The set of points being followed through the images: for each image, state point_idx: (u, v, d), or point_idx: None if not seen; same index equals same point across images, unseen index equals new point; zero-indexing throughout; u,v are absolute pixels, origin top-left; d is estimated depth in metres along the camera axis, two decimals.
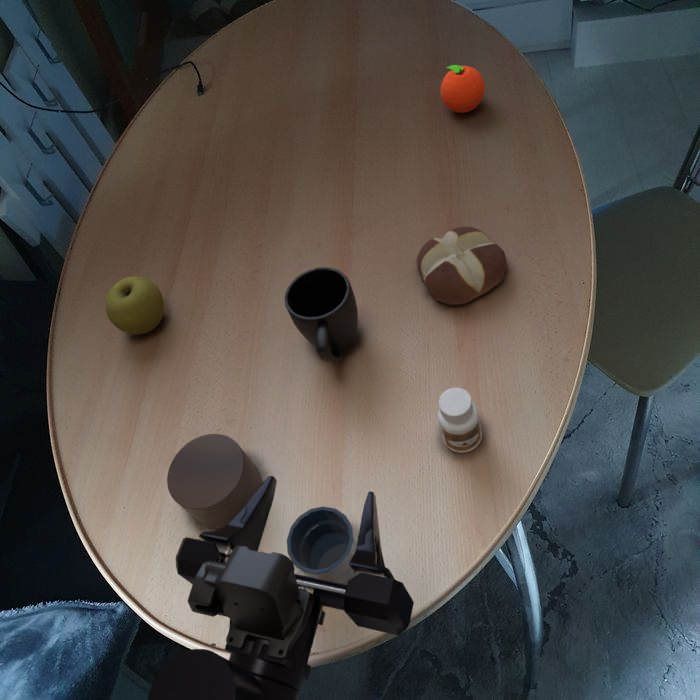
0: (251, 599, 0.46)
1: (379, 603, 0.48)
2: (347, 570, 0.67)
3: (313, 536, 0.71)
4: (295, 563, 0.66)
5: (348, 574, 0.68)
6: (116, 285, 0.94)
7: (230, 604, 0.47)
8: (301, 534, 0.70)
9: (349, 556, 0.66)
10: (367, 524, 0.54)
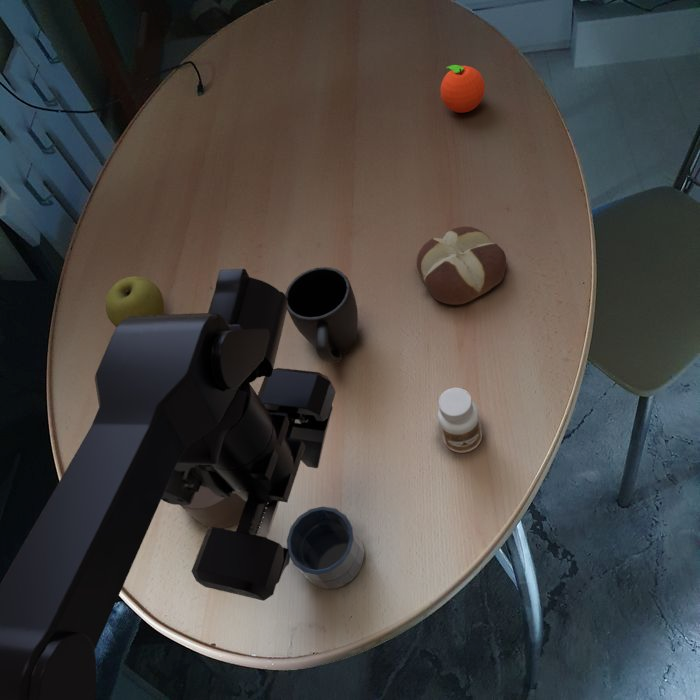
0: None
1: (263, 380, 0.59)
2: (347, 570, 0.67)
3: (313, 536, 0.71)
4: (295, 563, 0.66)
5: (348, 574, 0.68)
6: (116, 285, 0.94)
7: None
8: (301, 534, 0.70)
9: (349, 556, 0.66)
10: None
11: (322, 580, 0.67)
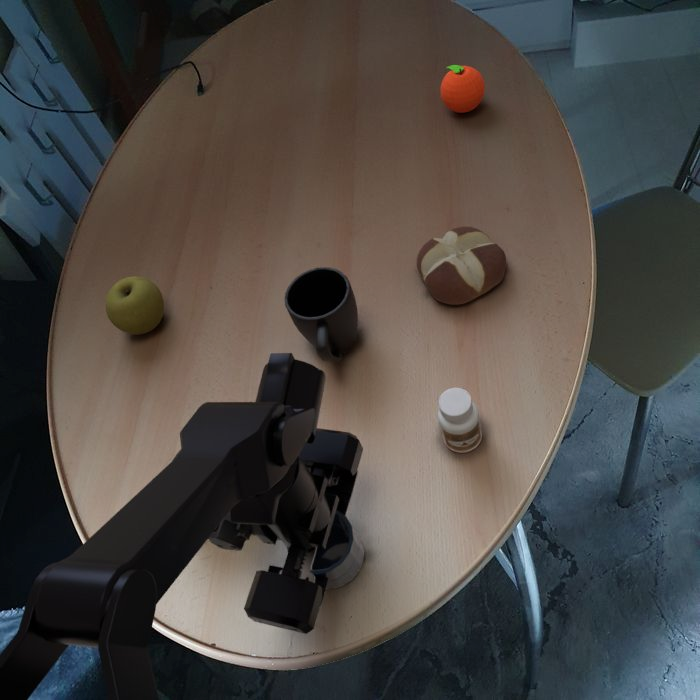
0: None
1: None
2: (347, 570, 0.67)
3: None
4: None
5: (348, 574, 0.68)
6: (116, 285, 0.94)
7: (230, 512, 0.62)
8: None
9: (349, 556, 0.66)
10: None
11: None
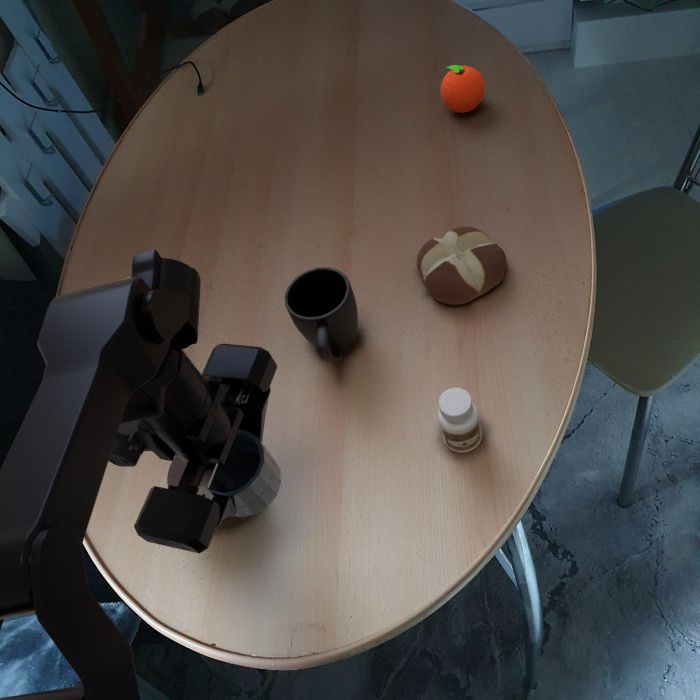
0: None
1: None
2: (258, 495, 0.62)
3: (228, 463, 0.67)
4: None
5: (260, 501, 0.63)
6: None
7: (124, 426, 0.57)
8: None
9: (259, 479, 0.61)
10: None
11: None
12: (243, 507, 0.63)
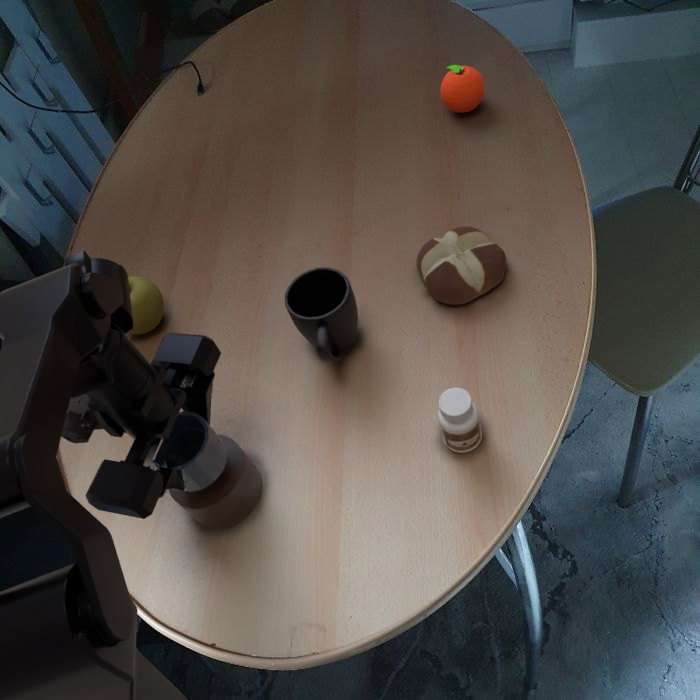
0: None
1: (160, 343, 0.70)
2: (204, 470, 0.68)
3: (179, 443, 0.73)
4: None
5: (205, 476, 0.69)
6: None
7: (78, 406, 0.63)
8: (166, 440, 0.72)
9: (203, 455, 0.67)
10: None
11: None
12: (190, 482, 0.69)
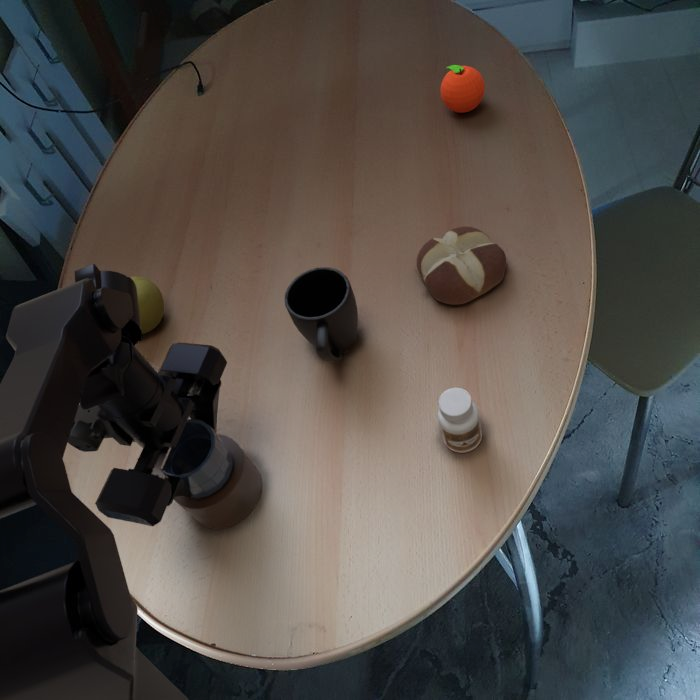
0: None
1: (167, 352, 0.71)
2: (210, 477, 0.70)
3: (186, 450, 0.74)
4: None
5: (212, 482, 0.70)
6: None
7: (87, 415, 0.65)
8: None
9: (210, 462, 0.69)
10: None
11: None
12: (197, 488, 0.70)
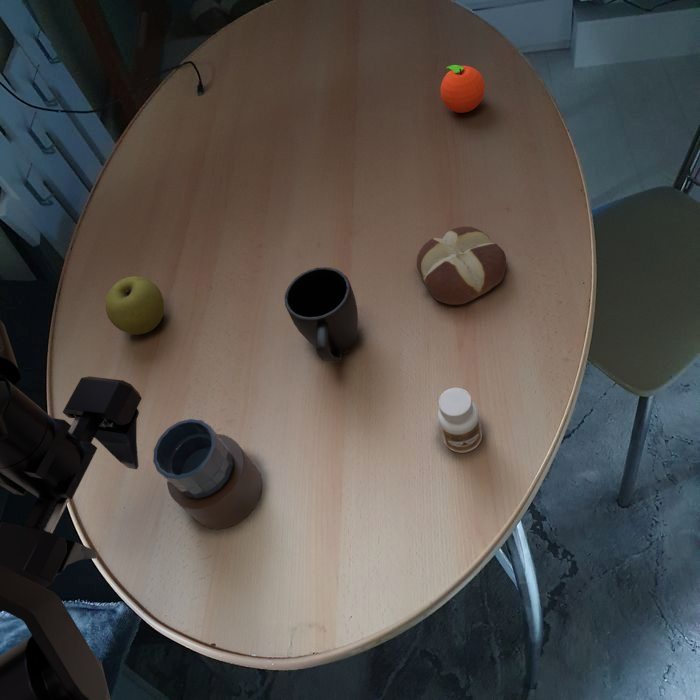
0: None
1: None
2: (210, 477, 0.70)
3: (186, 450, 0.74)
4: (159, 470, 0.69)
5: (212, 482, 0.70)
6: (116, 285, 0.94)
7: None
8: (173, 447, 0.73)
9: (210, 462, 0.69)
10: None
11: (185, 487, 0.69)
12: (197, 488, 0.70)
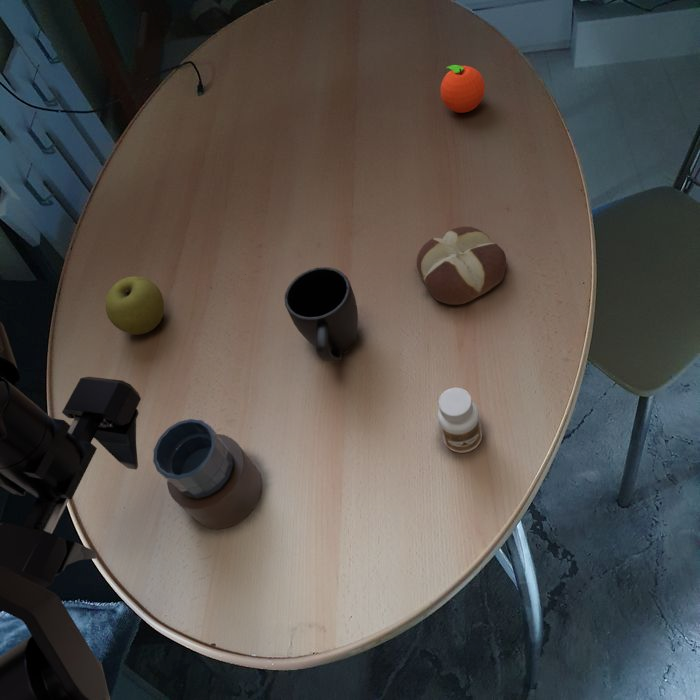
0: None
1: None
2: (210, 477, 0.70)
3: (186, 450, 0.74)
4: (159, 470, 0.69)
5: (212, 482, 0.70)
6: (116, 285, 0.94)
7: None
8: (173, 447, 0.73)
9: (210, 462, 0.69)
10: None
11: (185, 487, 0.69)
12: (197, 488, 0.70)
